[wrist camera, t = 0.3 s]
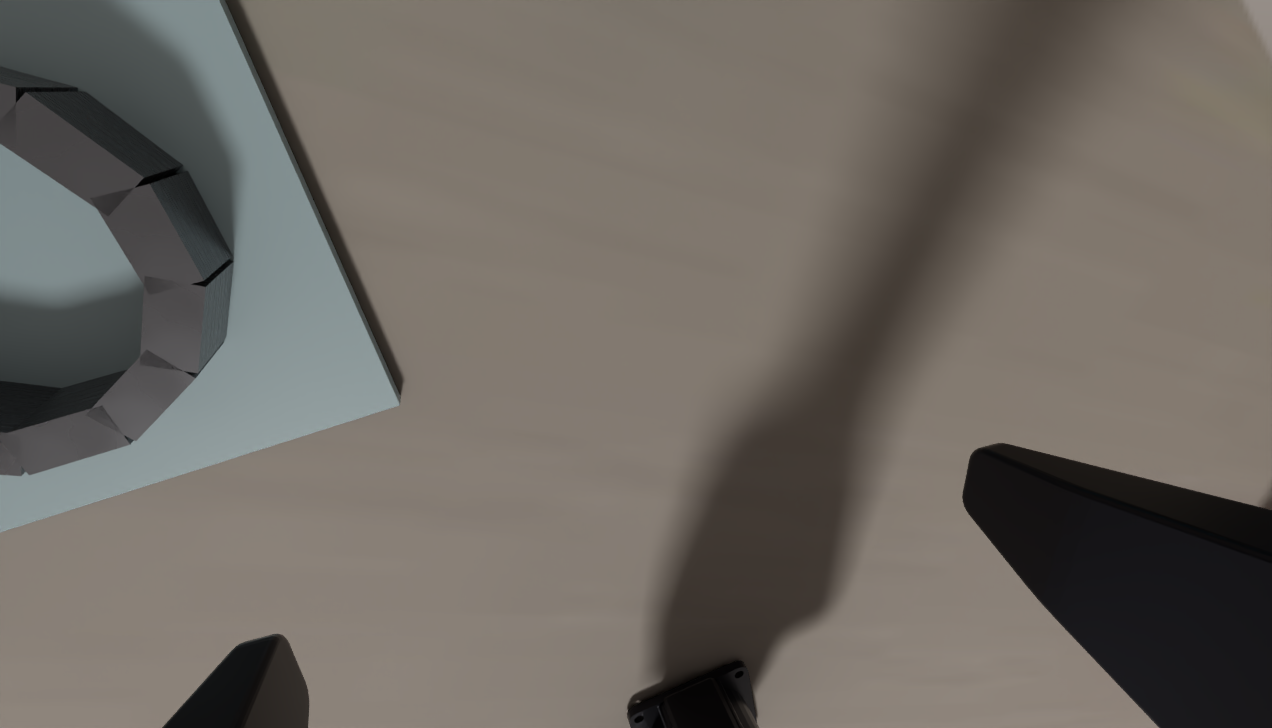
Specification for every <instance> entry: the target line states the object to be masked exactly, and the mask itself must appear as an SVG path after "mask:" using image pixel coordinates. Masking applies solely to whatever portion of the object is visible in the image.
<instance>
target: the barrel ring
mask: <svg viewBox="0 0 1272 728" xmlns="http://www.w3.org/2000/svg"><path fill="white" fill-rule="evenodd" d="M0 144H1V145H3V146H4V147H6V148H7V149H9V150H10V151H12V152H13V153H15V154H16V155H18V156H19V157H21V158H22V159H24V160H25V161H27V162H28V163H30V164H31V165H33V166H34V167H36V168H37V169H39V170H40V171H41V172H43V173H44V174H46V175H47V176H49V177H50V178H52V179H53V180H55V181H56V182H58V183H59V184H61V185H62V186H64V187H65V188H67V189H68V190H70V191H71V192H73V193H74V194H76V195H77V196H79V197H80V198H82V199H83V200H85V201H86V202H88V203H89V204H90V205H92V206H93V207H95V208H96V209H97V210H98V212H99V213H100V215H101V216H102V218H103V220H104V221H105V223H106V225H107V226H108V228H109V229H110V231H111V233H112V234H113V236H114V238H115V239H116V241H117V243H118V244H119V246H120V247H121V249H122V251H123V252H124V254H125V256H126V257H127V259H128V260H129V262H130V264H131V265H132V267H133V269H134V270H135V272H136V273H137V275H138V277H139V278H140V280H141V282H142V283H143V285H144V294H143V312H142V331H141V350H140V357H139V358H138V359H137V360H136V361H135V362H134V363H133V365H132V366H131V367H130V368H129V369H127V370H124V371H120V372H117V373H113V374H109V375H106V376H102V377H99V378H95V379H92V380H88V381H85V382H81V383H78V384H74V385H71V386H67V387H64V388H57V387H49V386H41V385H32V384H24V383H15V382H7V381H0V475H10V476H22V475H23V474H24V473H25V472H27V473H28V475H32V474H36V473H39V472H42V471H46V470H49V469H52V468H55V467H59V466H62V465H65V464H69V463H72V462H75V461H78V460H82V459H85V458H88V457H92V456H95V455H98V454H101V453H105V452H108V451H111V450H114V449H118V448H121V447H124V446H128V445H131V443H132V442H133V441H137V440H138V439H139V438H140V437H141V436H142V435H143V433H144V432H145V431H146V430H147V429H148V428H149V427H150V426H151V425H152V424H153V423H154V422H155V421H156V420H157V419H158V418H159V417H160V416H161V414H162V413H163V412H164V411H165V410H166V409H167V408H168V407H169V406H170V405H171V404H172V403H173V402H174V401H175V400H176V399H177V398H178V397H179V396H180V394H181V393H182V392H183V391H184V390H185V389H186V388H187V387H188V386H189V385H190V384H191V383H192V382H193V381H194V380H195V379H196V377H197V376H198V375H199V374H200V372H201V371H202V370H203V369H204V367H205V366H206V365H207V363H208V362H209V361H210V360H211V358H212V357H213V356H214V355H215V353H216V352H217V351H218V350H219V348H220V347H221V346H222V344H223V343H224V342H223V341H224V340H225V339H226V336H227V326H228V316H229V306H230V296H231V286H232V276H233V266H234V261H230V260H228V259H229V258H231V257H232V256H233V255H232V253H231V251H230V249H229V247H228V245H227V244H226V242H225V240H224V238H223V236H222V234H221V232H220V230H219V228H218V227H217V225H216V223H215V221H214V219H213V217H212V215H211V213H210V211H209V209H208V208H207V206H206V204H205V202H204V200H203V198H202V196H201V194H200V192H199V191H198V189H197V187H196V185H195V183H194V181H193V179H192V177H191V175H190V173H189V172H188V171H185V172H180V173H176V172H177V171H178V170H179V169H180V168H181V167H182V166H183V165H182V164H181V163H180V162H178V161H177V160H176V159H174V158H173V157H172V156H171V155H169V154H168V153H167V152H165V151H164V150H163V149H161V148H160V147H159V146H157V145H156V144H155V143H153V142H152V141H151V140H149V139H148V138H147V137H145V136H144V135H143V134H141V133H140V132H139V131H137V130H136V129H135V128H134V127H132V126H131V125H130V124H128V123H127V122H126V121H124V120H123V119H122V118H120V117H119V116H118V115H116V114H115V113H114V112H112V111H111V110H110V109H108V108H107V107H106V106H104V105H103V104H102V103H100V102H99V101H98V100H96V99H95V98H94V97H93V96H91V95H90V94H89V93H87V92H86V91H82V92H78V87H74V86H71V85H67V84H63V83H60V82H56V81H52V80H49V79H45V78H41V77H38V76H34V75H30V74H27V73H23V72H20V71H16V70H12V69H9V68H5V67H1V66H0ZM175 173H176V174H175Z"/></svg>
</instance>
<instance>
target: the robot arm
mask: <svg viewBox="0 0 1272 728" xmlns="http://www.w3.org/2000/svg"><path fill="white" fill-rule="evenodd" d="M962 498H963V503H964V507H965V509H966V511H967V512H968V514H969V515H970V516H971V518H972V519H973V520H974V521H975V522H976V524H977V525H978V526H979V527H980V529H981V530H982V531H983V532H984V534H985V535H986V536H987V537H988V539H989V540H990V541H991V542H992V544H993V545H994V546H995V547H996V548H997V550H998V551H999V552H1000V553H1001V555H1002V556H1003V557H1004V558H1005V560H1006V561H1007V562H1008V563H1009V565H1010V566H1011V567H1012V568H1013V570H1014V571H1015V572H1016V573H1017V575H1018V576H1019V577H1020V578H1021V579H1022V581H1023V582H1024V583H1025V584H1026V586H1027V587H1028V588H1029V589H1030V590H1031V592H1032V593H1033V594H1034V595H1035V596H1036V598H1037V599H1038V600H1039V601H1040V602H1041V603H1042V605H1043V606H1044V607H1045V608H1046V609H1047V610H1048V611H1049V612H1050V613H1051V614H1052V615H1053V617H1054V618H1055V619H1056V620H1057V621H1058V622H1059V623H1060V624H1061V625H1062V626H1063V627H1064V628H1065V629H1066V630H1067V631H1068V632H1069V633H1070V634H1071V635H1072V637H1073V638H1074V639H1075V640H1076V641H1077V642H1078V643H1079V644H1080V645H1081V646H1082V647H1083V648H1084V649H1085V650H1086V651H1087V652H1088V653H1089V654H1090V655H1091V657H1092V658H1093V659H1094V660H1095V661H1096V662H1097V663H1098V664H1099V665H1100V666H1101V667H1102V668H1103V669H1104V670H1105V671H1106V672H1107V673H1108V674H1109V675H1110V676H1111V678H1112V679H1113V680H1114V681H1115V682H1116V683H1117V684H1118V685H1119V686H1120V687H1121V688H1122V689H1123V690H1124V691H1125V692H1126V693H1127V694H1128V695H1129V696H1130V697H1131V699H1132V700H1133V701H1134V702H1135V703H1136V704H1137V705H1138V706H1139V707H1140V708H1141V709H1142V710H1143V711H1144V712H1145V713H1146V714H1147V715H1148V716H1149V717H1150V718H1151V720H1152V721H1153V722H1154V723H1155V724H1156V725H1157V726H1158V727H1159V728H1272V510H1269V509H1265V508H1261V507H1257V506H1253V505H1249V504H1245V503H1241V502H1237V501H1233V500H1229V499H1225V498H1221V497H1217V496H1213V495H1209V494H1205V493H1201V492H1197V491H1193V490H1189V489H1185V488H1181V487H1177V486H1173V485H1169V484H1165V483H1161V482H1157V481H1153V480H1149V479H1145V478H1141V477H1137V476H1133V475H1129V474H1125V473H1121V472H1117V471H1113V470H1109V469H1105V468H1101V467H1097V466H1093V465H1089V464H1086V463H1082V462H1078V461H1074V460H1070V459H1066V458H1062V457H1058V456H1054V455H1050V454H1046V453H1042V452H1038V451H1034V450H1030V449H1026V448H1022V447H1018V446H1014V445H1010V444H1005V443H997V444H993V445H989V446H985V447H981V448H978V449H976V450H975V451H974V452H973V453H972V454H971V456H970V459H969V464H968V469H967V474H966V479H965V484H964V489H963V496H962ZM627 717H628V720H629V723H630V726H631V728H759V727H758V725H757V721H756V715H755V709H754V703H753V697H752V691H751V685H750V679H749V673H748V670H747V668H746V666H745V664H744V662H742V661H736V662H733V663H731V664H729V665H726V666H724V667H722V668H720V669H717V670H715V671H713V672H711V673H708V674H706V675H704V676H701V677H699V678H697V679H695V680H692V681H690V682H688V683H686V684H683V685H681V686H679V687H677V688H674V689H672V690H670V691H668V692H665V693H663V694H661V695H658V696H656V697H654V698H652V699H649V700H647V701H645V702H643V703H640V704H638V705H636V706H634V707H632V708H631V709H630V710H629V711H628V713H627ZM308 719H309V695H308V689H307V685H306V682H305V680H304V677H303V675H302V673H301V670H300V668H299V666H298V663H297V661H296V658H295V656H294V654H293V651H292V649H291V647H290V644H289V642H288V640H287V639H286V638H285V637H284V636H283V635H281V634H272V635H269V636H265V637H261V638H257V639H254V640H250V641H246V642H243V643H241V644H239V645H238V646H236V647H235V648H234V649H233V650H232V651H231V652H230V653H229V654H228V655H227V656H226V657H225V658H224V660H223V661H222V662H221V663H220V664H219V665H218V666H217V667H216V668H215V670H214V671H213V672H212V673H211V674H210V675H209V676H208V677H207V678H206V680H205V681H204V682H203V683H202V684H201V685H200V686H199V687H198V688H197V690H196V691H195V692H194V693H193V694H192V695H191V696H190V697H189V698H188V700H187V701H186V702H185V703H184V704H183V705H182V706H181V707H180V708H179V710H178V711H177V712H176V713H175V714H174V715H173V716H172V717H171V718H170V720H169V721H168V722H167V723H166V724H165V725H164V726H163V727H162V728H308Z"/></svg>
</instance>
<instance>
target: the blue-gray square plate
mask: <svg viewBox="0 0 1272 728" xmlns="http://www.w3.org/2000/svg"><path fill="white" fill-rule="evenodd" d="M0 66H1V67H5V68H9V69H12V70H16V71H20V72H23V73H27V74H30V75H34V76H38V77H41V78H45V79H49V80H52V81H56V82H60V83H63V84H67V85H71V86H74V87H78V92H82V91H86V92H87V93H89V94H90V95H91V96H93V97H94V98H95V99H96V100H98V101H99V102H100V103H102V104H103V105H104V106H106V107H107V108H108V109H110V110H111V111H112V112H114V113H115V114H116V115H118V116H119V117H120V118H122V119H123V120H124V121H126V122H127V123H128V124H130V125H131V126H132V127H134V128H135V129H136V130H137V131H139V132H140V133H141V134H143V135H144V136H145V137H147V138H148V139H149V140H151V141H152V142H153V143H155V144H156V145H157V146H159V147H160V148H161V149H163V150H164V151H165V152H167V153H168V154H169V155H171V156H172V157H173V158H174V159H176V160H177V161H178V162H180V163H181V164H182V165H183V166H182V167H181V168H180V169H179V170H178V171H177V172H176V173H180V172H185V171H188V172H189V173H190V175H191V177H192V179H193V181H194V183H195V185H196V187H197V189H198V191H199V192H200V194H201V196H202V198H203V200H204V202H205V204H206V206H207V208H208V209H209V211H210V213H211V215H212V217H213V219H214V221H215V223H216V225H217V227H218V228H219V230H220V232H221V234H222V236H223V238H224V240H225V242H226V244H227V245H228V247H229V249H230V251H231V253H232V255H233V256H232V257H231V258H229V259H228V260H230V261H234V266H233V276H232V286H231V296H230V306H229V316H228V326H227V336H226V339H225V340H224V341H223V342H224V343H223V344H222V346H221V347H220V348H219V350H218V351H217V352H216V353H215V355H214V356H213V357H212V358H211V360H210V361H209V362H208V363H207V365H206V366H205V367H204V369H203V370H202V371H201V372H200V374H199V375H198V376H197V377H196V379H195V380H194V381H193V382H192V383H191V384H190V385H189V386H188V387H187V388H186V389H185V390H184V391H183V392H182V393H181V394H180V396H179V397H178V398H177V399H176V400H175V401H174V402H173V403H172V404H171V405H170V406H169V407H168V408H167V409H166V410H165V411H164V412H163V413H162V414H161V416H160V417H159V418H158V419H157V420H156V421H155V422H154V423H153V424H152V425H151V426H150V427H149V428H148V429H147V430H146V431H145V432H144V433H143V435H142V436H141V437H140V438H139V439H138V440H137V441H133V442H132V443H131V445H128V446H124V447H121V448H118V449H114V450H111V451H108V452H105V453H101V454H98V455H95V456H92V457H88V458H85V459H82V460H78V461H75V462H72V463H69V464H65V465H62V466H59V467H55V468H52V469H49V470H46V471H42V472H39V473H36V474H32V475H28V473H27V472H25V473H24V474H23V475H22V476H10V475H0V532H3V531H6V530H9V529H12V528H15V527H19V526H22V525H25V524H28V523H31V522H34V521H37V520H41V519H44V518H47V517H50V516H53V515H56V514H59V513H63V512H66V511H69V510H72V509H75V508H78V507H81V506H85V505H88V504H91V503H94V502H97V501H100V500H103V499H107V498H110V497H113V496H116V495H119V494H122V493H125V492H129V491H132V490H135V489H138V488H141V487H144V486H147V485H151V484H154V483H157V482H160V481H163V480H166V479H170V478H173V477H176V476H179V475H182V474H185V473H188V472H192V471H195V470H198V469H201V468H204V467H207V466H210V465H214V464H217V463H220V462H223V461H226V460H229V459H232V458H236V457H239V456H242V455H245V454H248V453H251V452H254V451H258V450H261V449H264V448H267V447H270V446H273V445H276V444H280V443H283V442H286V441H289V440H292V439H295V438H298V437H302V436H305V435H308V434H311V433H314V432H317V431H320V430H324V429H327V428H330V427H333V426H336V425H339V424H343V423H346V422H349V421H352V420H355V419H358V418H361V417H365V416H368V415H371V414H374V413H377V412H380V411H383V410H387V409H390V408H393V407H396V406H399V405H400V399H401V397H400V395H399V392H398V390H397V388H396V386H395V383H394V381H393V379H392V376H391V374H390V372H389V370H388V367H387V365H386V363H385V361H384V358H383V356H382V354H381V352H380V349H379V347H378V345H377V343H376V340H375V338H374V336H373V334H372V331H371V329H370V327H369V325H368V322H367V320H366V318H365V316H364V313H363V311H362V309H361V306H360V304H359V302H358V300H357V297H356V295H355V293H354V291H353V288H352V286H351V284H350V282H349V279H348V277H347V275H346V273H345V270H344V268H343V266H342V264H341V261H340V259H339V257H338V255H337V252H336V250H335V248H334V246H333V243H332V241H331V239H330V236H329V234H328V232H327V230H326V227H325V225H324V223H323V221H322V218H321V216H320V214H319V212H318V209H317V207H316V205H315V203H314V200H313V198H312V196H311V194H310V191H309V189H308V187H307V185H306V182H305V180H304V178H303V176H302V173H301V171H300V169H299V166H298V164H297V162H296V160H295V157H294V155H293V153H292V151H291V148H290V146H289V144H288V142H287V139H286V137H285V135H284V133H283V130H282V128H281V126H280V124H279V121H278V119H277V117H276V115H275V112H274V110H273V108H272V106H271V103H270V101H269V99H268V96H267V94H266V92H265V90H264V87H263V85H262V83H261V81H260V78H259V76H258V74H257V72H256V69H255V67H254V65H253V63H252V60H251V58H250V56H249V54H248V51H247V49H246V47H245V45H244V42H243V40H242V38H241V36H240V33H239V31H238V29H237V26H236V24H235V22H234V20H233V17H232V15H231V13H230V11H229V8H228V6H227V4H226V2H225V0H0ZM176 173H175V174H176ZM143 294H144V285H143V283H142V282H141V280H140V278H139V277H138V275H137V273H136V272H135V270H134V269H133V267H132V265H131V264H130V262H129V260H128V259H127V257H126V256H125V254H124V252H123V251H122V249H121V247H120V246H119V244H118V243H117V241H116V239H115V238H114V236H113V234H112V233H111V231H110V229H109V228H108V226H107V225H106V223H105V221H104V220H103V218H102V216H101V215H100V213H99V212H98V210H97V209H96V208H95V207H93V206H92V205H90V204H89V203H88V202H86V201H85V200H83V199H82V198H80V197H79V196H77V195H76V194H74V193H73V192H71V191H70V190H68V189H67V188H65V187H64V186H62V185H61V184H59V183H58V182H56V181H55V180H53V179H52V178H50V177H49V176H47V175H46V174H44V173H43V172H41V171H40V170H39V169H37V168H36V167H34V166H33V165H31V164H30V163H28V162H27V161H25V160H24V159H22V158H21V157H19V156H18V155H16V154H15V153H13V152H12V151H10V150H9V149H7V148H6V147H4V146H3V145H1V144H0V381H7V382H15V383H24V384H32V385H41V386H49V387H57V388H64V387H67V386H71V385H74V384H78V383H81V382H85V381H88V380H92V379H95V378H99V377H102V376H106V375H109V374H113V373H117V372H120V371H124V370H127V369H129V368H130V367H131V366H132V365H133V363H134V362H135V361H136V360H137V359H138V358H139V357H140V350H141V331H142V312H143Z"/></svg>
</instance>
